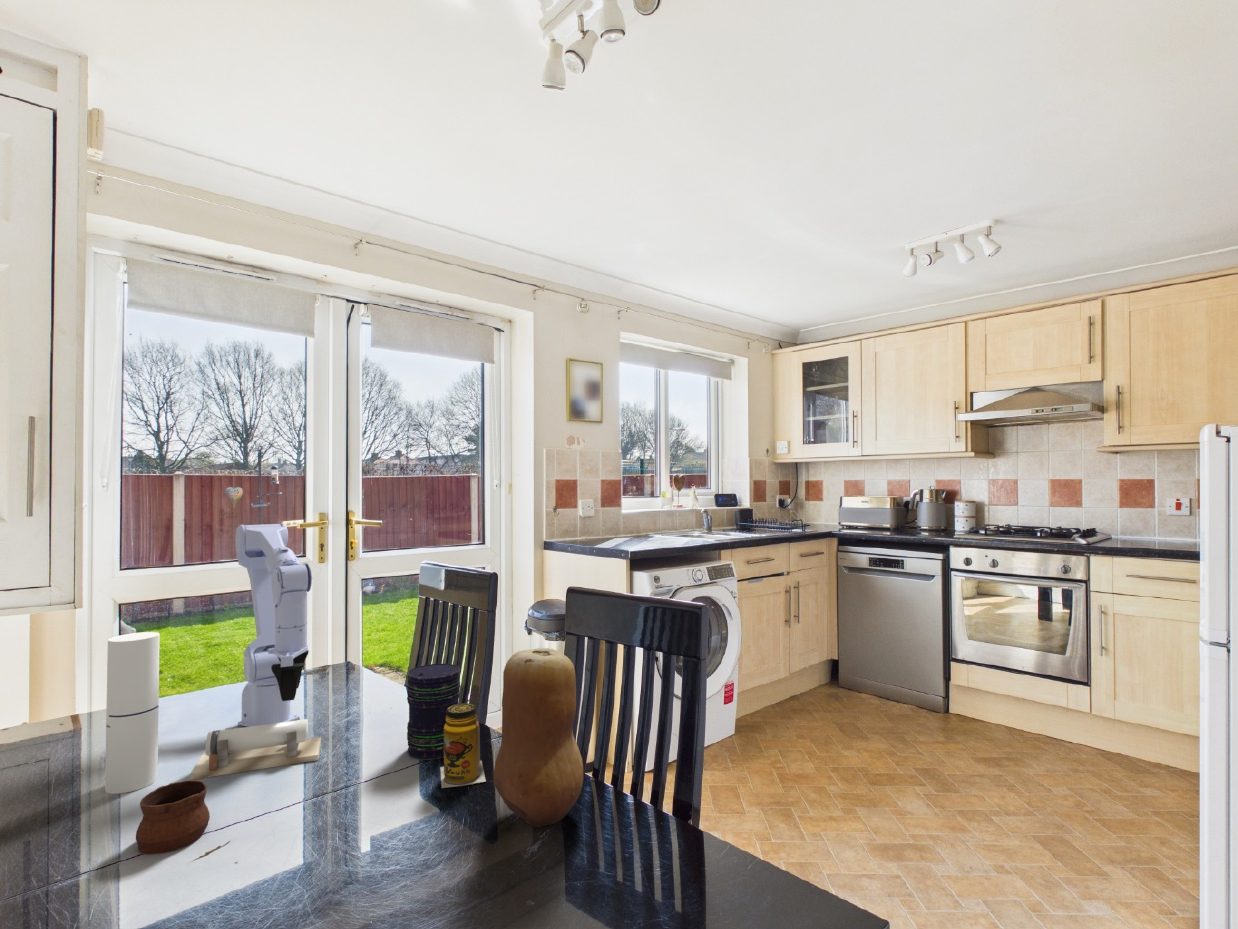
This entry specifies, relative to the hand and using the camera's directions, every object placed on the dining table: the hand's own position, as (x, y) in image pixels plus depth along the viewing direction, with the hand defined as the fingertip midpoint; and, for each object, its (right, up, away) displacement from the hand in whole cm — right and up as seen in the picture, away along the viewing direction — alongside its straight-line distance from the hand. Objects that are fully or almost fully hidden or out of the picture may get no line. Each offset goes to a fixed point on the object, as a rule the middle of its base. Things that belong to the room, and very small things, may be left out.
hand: (290, 694), depth 126 cm
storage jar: (+30, -9, -4) cm, 32 cm away
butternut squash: (+53, -8, -30) cm, 62 cm away
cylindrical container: (-18, -9, -18) cm, 27 cm away
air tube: (-1, -5, -9) cm, 10 cm away
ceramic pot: (+1, -9, -35) cm, 36 cm away
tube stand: (-1, -9, -8) cm, 13 cm away
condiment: (+38, -9, -16) cm, 42 cm away
